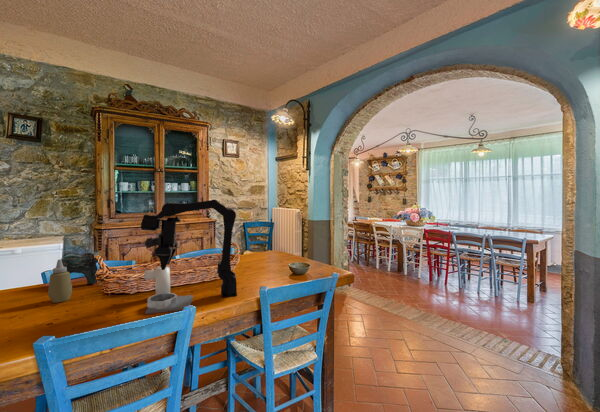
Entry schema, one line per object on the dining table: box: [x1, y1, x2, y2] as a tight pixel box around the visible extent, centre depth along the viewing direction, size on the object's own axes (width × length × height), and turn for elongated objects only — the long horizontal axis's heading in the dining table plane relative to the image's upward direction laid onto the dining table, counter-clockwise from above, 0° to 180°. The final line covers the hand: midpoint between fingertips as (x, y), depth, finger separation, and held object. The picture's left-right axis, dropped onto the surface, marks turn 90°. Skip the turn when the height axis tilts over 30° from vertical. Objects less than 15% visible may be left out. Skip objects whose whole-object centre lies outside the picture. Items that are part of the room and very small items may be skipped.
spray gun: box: [60, 245, 102, 285], centre depth 144 cm, size 20×6×20 cm, turn 93°
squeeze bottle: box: [47, 258, 73, 303], centre depth 122 cm, size 8×8×18 cm
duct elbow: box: [143, 266, 171, 295], centre depth 126 cm, size 10×6×13 cm, turn 106°
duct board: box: [145, 292, 194, 315], centre depth 117 cm, size 16×14×4 cm
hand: (165, 267), depth 122 cm, fingers open, 9 cm apart
